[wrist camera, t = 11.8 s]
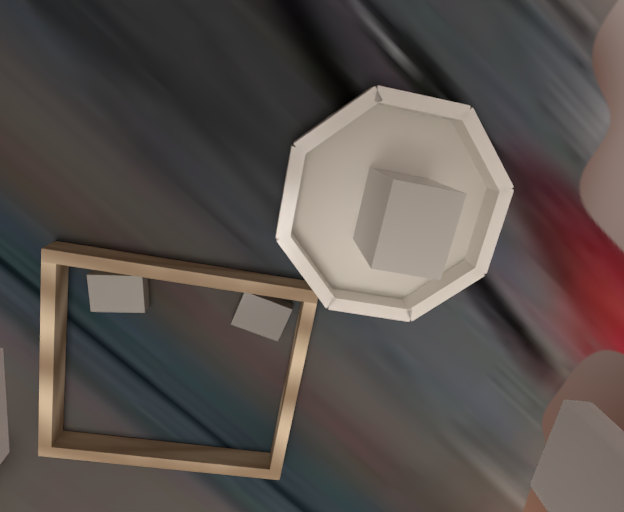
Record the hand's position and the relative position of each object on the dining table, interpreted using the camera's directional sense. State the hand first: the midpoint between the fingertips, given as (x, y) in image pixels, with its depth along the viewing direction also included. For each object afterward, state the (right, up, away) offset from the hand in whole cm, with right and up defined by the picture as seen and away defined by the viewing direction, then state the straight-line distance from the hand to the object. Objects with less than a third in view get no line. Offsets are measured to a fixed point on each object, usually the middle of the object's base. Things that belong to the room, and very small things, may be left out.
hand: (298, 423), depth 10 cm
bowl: (+6, +8, +23) cm, 25 cm away
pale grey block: (+6, +8, +22) cm, 24 cm away
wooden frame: (-11, -5, +26) cm, 28 cm away
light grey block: (-15, +2, +24) cm, 28 cm away
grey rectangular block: (-4, 0, +25) cm, 25 cm away
